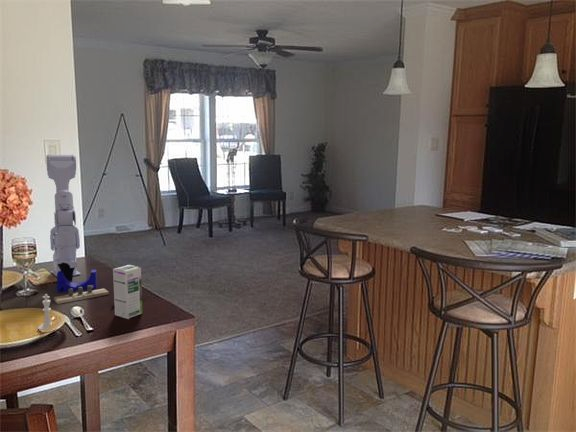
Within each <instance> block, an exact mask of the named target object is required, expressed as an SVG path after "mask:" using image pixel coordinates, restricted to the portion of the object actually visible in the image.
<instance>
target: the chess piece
mask: <svg viewBox="0 0 576 432" xmlns="http://www.w3.org/2000/svg"><path fill="white" fill-rule="evenodd" d="M42 299H44V300H42V305H43V309H42V312H44V319H43V320H44V322H43V323H42V324H41V325H39V326H38V327H37V330H38V329H39V330H46V329H48V328H49V327H50V326H51V325H52V323H53V322H52V321H51V316H50V311H51V310H52V308H51V307H50V306H51V305H50V304H51V298H50V296H49V295H48V293H45V294H44V295H43V296H42Z"/></svg>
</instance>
